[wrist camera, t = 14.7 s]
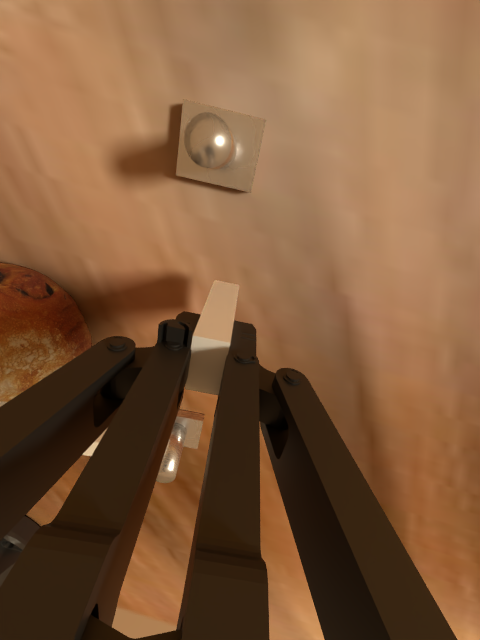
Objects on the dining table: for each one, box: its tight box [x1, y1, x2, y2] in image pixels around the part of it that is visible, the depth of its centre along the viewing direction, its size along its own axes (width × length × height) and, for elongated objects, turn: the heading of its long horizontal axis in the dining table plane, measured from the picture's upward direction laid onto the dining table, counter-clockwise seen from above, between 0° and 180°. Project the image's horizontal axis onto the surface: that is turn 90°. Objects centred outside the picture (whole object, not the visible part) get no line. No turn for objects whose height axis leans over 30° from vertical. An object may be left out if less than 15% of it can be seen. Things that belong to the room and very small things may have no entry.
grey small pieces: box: [156, 99, 266, 483], centre depth 19 cm, size 4×26×5 cm, turn 168°
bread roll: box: [0, 263, 91, 402], centre depth 21 cm, size 10×10×8 cm
